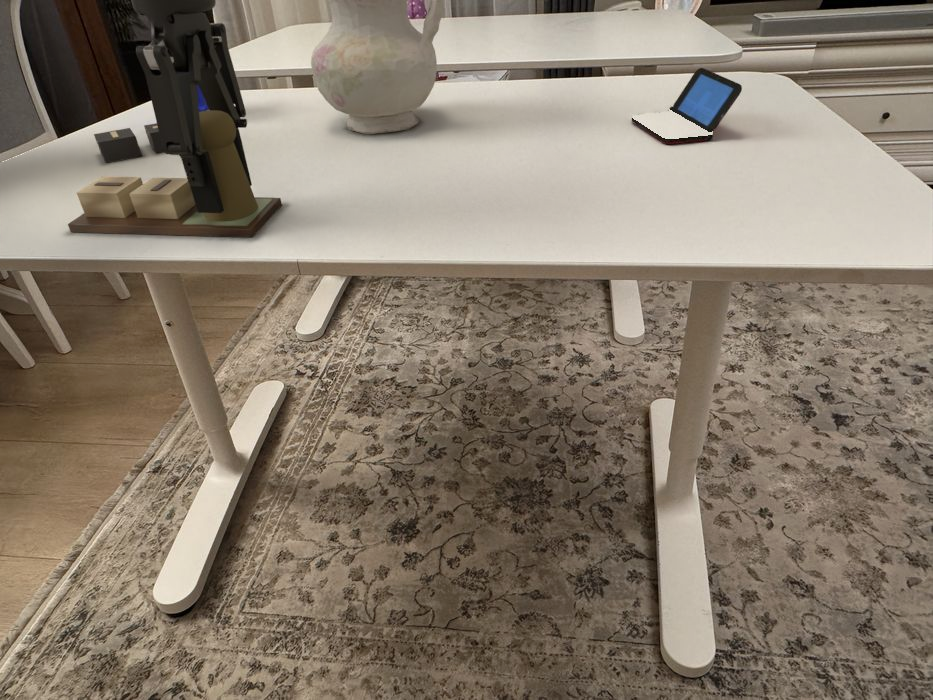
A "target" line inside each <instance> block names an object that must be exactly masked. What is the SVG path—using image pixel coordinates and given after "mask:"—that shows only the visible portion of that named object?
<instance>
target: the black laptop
mask: <svg viewBox="0 0 933 700" xmlns="http://www.w3.org/2000/svg"><path fill="white" fill-rule="evenodd" d="M742 90H743V86H742V84H740V83H738V82H736V81H734V80H731V79H729V78H728V77H725V76H723V75H720V74H718V73H715V72H713V71H710V70H708V69H706V68H704V67H699V68H698V69H696V71H695V72H694V73H693V74H692V75H691V77H690V79H689V81H688V82H687V84H686V85H685V86H684V88H683V90H682V91H681V92H680V94H679V96H678V97H677V99H676V100H675V102H674V103H673V106H670V107H669V109H670V110H672V111H673V112H675V113H677V114H679V115H681V116H682V117H684V118H685V119H687V120H689V121H691V122H693V123H695V124H696V125H698V126H700V127H701V128H703V129H705V130H707V131H708V132H712V131H714V132H715V130H716V129H717V128H718V126H719V124H720V123H721V122H722V121H723V119H724V117H725V116H726V114H727V113H728V112H729V110H730V109H731V107H732V106H733V105H734V103H735V102H736V101H737V99H738V97H739V96H740V95H741V93H742ZM669 109H668V110H669ZM631 122H632V123H633V124H635V125H636V126H637V127H639V128H641V129H642V130H643V131H645V132H646V133H648V134H649V135H651V136H652V137H653V138H655V139H657V140H658V141H660V142H661V143H663V144H666V145H675V144H684V143H685V144H686V143H694V142H704V141H708V142H709V141H712V140H713V138H714V134H713V135H708V136H698V137H688V138H679V139H665V138H662V137H661V136H659V135H658V134H656V133H654V132H653V131H651V130H650V129H648V128H647V127H645V126H644V125H642V124H641V123H639V122H638V121H636V120H634V119H633V118H632V117H631Z"/></svg>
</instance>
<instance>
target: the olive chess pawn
mask: <svg viewBox="0 0 933 700" xmlns="http://www.w3.org/2000/svg"><path fill="white" fill-rule="evenodd" d="M199 116H200V127H201V138H202V151H208V152H209V156H210V159H211V163H212V167H213V171H214V174H215V178H216V182H217V186H218V189H219V193H220V197H221V201H222V204H223V208H224V211H223V212H222V213H204V215H205V217H206V218H207V219H209V220H212V221H233V220H238V219H242V218H245V217H248V216H250V215H252V214H253V213H255V212H256V211H257V209H258V205H257V202H256V199H255V197H256V196H255V195H254V192H253V190H252V185H251V186H250V184H249V181H248V178H247V176H246V173H245V171H244V168H243V165H242V163H241V160H240V157H239V155H238V152H237V150H236V147H235V144H234V139H235V137H236V127H235V123H234V121H233V119H232V118H231V117H230V115H229V114H228V113H225V112H223V111H218V110H206V111H201V112H199Z"/></svg>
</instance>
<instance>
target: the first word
mask: <svg viewBox="0 0 933 700" xmlns="http://www.w3.org/2000/svg"><path fill="white" fill-rule="evenodd" d="M143 127H144V129H145V130H144V131H145V134H146V137H147V140H148V143H149V145H150V147H151V148H152V149H153V151H154V152H155V153H156V154H159V153H165V152H164V150H163V146H162V142H161V138H160V134H159V130H158V125H157V122H156V123H151V124H150V123H149V124H145V125H143ZM93 136H94V138H95V141H96V144H97V146H98V150H99V152H100V155H101V157H102V159H103V161H104V163H105V164H109V163H114V162H119V161H124V160H129V159H134V158H140V157H143V155H142V152H141V149H140V146H139V142H138V140H137V136H136V134H135V133H134V132H133V130H132V129H131V127H127V128H126V127H125V128H122V129H116V130H115V129H114V130H110V131H109V130H108V131H104V132H98V133H94V134H93Z"/></svg>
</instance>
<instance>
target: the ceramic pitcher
mask: <svg viewBox="0 0 933 700" xmlns="http://www.w3.org/2000/svg"><path fill="white" fill-rule="evenodd" d="M327 1H328V5H329V9H330V13H331V23H330V26H329V29H328V31H327V32H326V34H325V35H324V36H323V37H322V39H321V40H319V42H318V44H317V45H316V46H315V47H314V49H313V50H312V53H311V60H310V65H311V72H312V76H313V79H314V81H315V84H316V87H317V90H318V91H319V93H320V94H321V95H322V97H323V98H324V100H325V101H326V102H327V103H328V104H329V105H330V106H331V107H332V108H333V109H334V110H336V111H337V112H340V113H343V114H344V115H348V118H347V122H346V128H347V129H348V130H350V131H353V132H355V133H356V132H357V133H360V134H363V135H367V136H368V135H374V134H386V133H392V132H400V131H407V130H410V129H411V128H413V127H414V126H416V125H417V124H419V123H420V121H419V119H418V118H417V117H416V116H415V115H414V113H413V112H412V111H414V110H416V109H418V108H420V107H421V106H422V105H423V104H424V103H425V102H426V100H427V99H428V97H429V96H430V94H431V92H432V90H433V88H434V86H435V84H436V83H435V82H436V79H437V70H438V63H437V54H436V49H435V47H434V44H433V41H434V39H435V37H436V35H437V33H438V32H439V29H440V25H441V24H440V23H441V20H442V17H443V14H444V11H445V0H430V2H429V5H428V10H427V12H426V16H425V18H424V21H423V27H422V28H423V29H422V32H420V31H419V30H417V29H416V27H415V26H414V25H412V23H411V20H410V18H409V15H408V3H407V2H408V0H327Z"/></svg>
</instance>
